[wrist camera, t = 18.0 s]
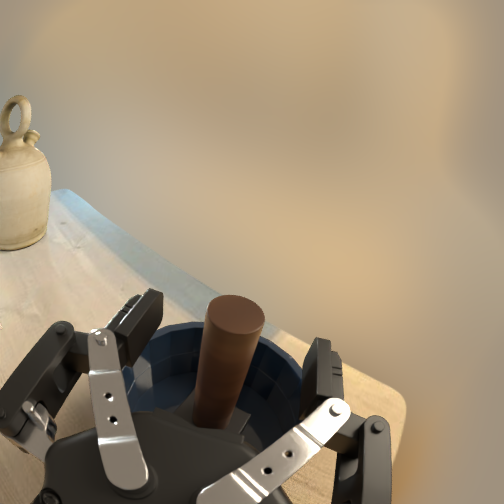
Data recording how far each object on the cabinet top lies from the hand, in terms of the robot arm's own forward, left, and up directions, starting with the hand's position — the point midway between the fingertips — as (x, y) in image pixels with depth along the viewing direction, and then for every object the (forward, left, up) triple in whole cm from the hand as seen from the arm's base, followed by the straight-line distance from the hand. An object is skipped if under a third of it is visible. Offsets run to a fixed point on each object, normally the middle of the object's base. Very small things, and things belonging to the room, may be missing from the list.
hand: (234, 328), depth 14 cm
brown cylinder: (0, 0, -13) cm, 13 cm away
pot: (0, 0, -13) cm, 13 cm away
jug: (+46, -5, -14) cm, 48 cm away
